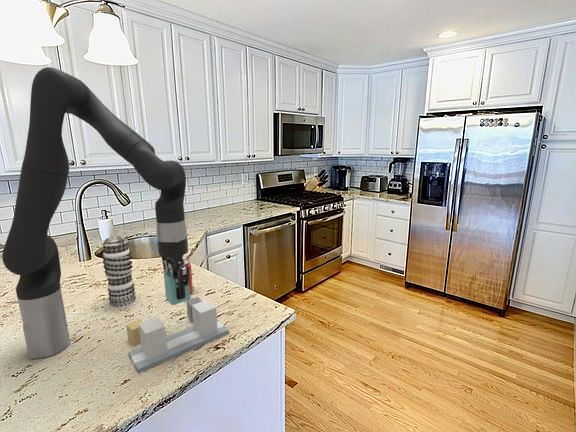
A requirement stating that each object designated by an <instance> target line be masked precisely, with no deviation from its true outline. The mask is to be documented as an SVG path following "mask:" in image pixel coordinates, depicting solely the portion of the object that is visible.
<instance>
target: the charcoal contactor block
mask: <svg viewBox="0 0 576 432" xmlns="http://www.w3.org/2000/svg"><path fill="white" fill-rule="evenodd" d="M200 302H202V300H201V298H200V297H199V296H197V297H196V296H195V297H193V298H190V300H187V301H186V311H187V317H188V319H189V321H190V323H191V324H193V315H192V305H194V304H197V303H200Z"/></svg>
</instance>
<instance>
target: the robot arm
mask: <svg viewBox="0 0 576 432" xmlns="http://www.w3.org/2000/svg"><path fill="white" fill-rule="evenodd" d="M29 105H30V106H29V109H30V110H29V121H28V122H29V124H28V129H27V130H28V131H27V139H26V144H25V145H26V146H25V151H24V157H23V161H22V165H21V169H20V175H19V181H18V183H19V184H18V189H17V193H16V199H15V205H14V212H13V213H14V214H13V219H12V222H11V226H10V229H9V233H8V235H7V239H6V241H5V244H4V247H3V249H2V255H1V257H2V258H1V259H2V260H1V261H2V262H3V265H4V266H5V268H6V269H7V271H9V272H11V273H12V274H14V275H18V276H19V278H18V282H17V284H16V287H15V293H16V298H17V302H18V306H19V312H20V316H21V320H22V331H23V335H24V339H25V340H24V341H25V344H26V349H27V353H28V359H29V360H30V361H31V360H35V359H42V358H49V357H51V356H54V355H57V354H58V353H60V352H62V351H64V350H65V349H66V348H67V347H69V346H70V344H71V338H70V337H71V336H70V333H69V328H68V321H67V317H66V309H65V304H64V300H63V294H62V293H63V292H62V287H61V278H62V268H61V259H60V255H59V254H60V252H59V249H58V245H57V243H56V241H55V240H54V239H53V238H52V237H51V236H50V235H48V232H49V227H50V225H51V221H52V219H53V217H54V214H55V213H56V211H57V210H58V207H59V206H60V203H61V201H62V200H63V196H64V194H65V191H66V188H67V184H68V177H69V173H70V161H69V157H68V152H67V150H66V148H65V144H64V143H65V142H64V139H63V125H64V120H65V115H66V114H69V115H73V116H74V117H77V118H78V119H80V120H81V121H83V122H85V123H87V124H88V125H90V126H91V127H92V128H93V129H94V130H95V131H97V133H99V135H100V137H101V138H102V139H103V140H104V142H105V143H106V144H107V145H108V146H109V147H110V148H111V149H112V150H113V151H114V152H115V153H116V154H117V155H118V156H120V157H121V158H122V159H124V160H125V161H126V162H128V164H130V165H132V167H133V168H134V169H135V171H136V172H137V173H138V174H139V176H140V177H141V178H142V179H143V181H145V182H146V183H147V185H149V186H151V187H152V188H154V189H156V190H159V191H160V196H159V198H158V199H157V200H156V201H155V203H154V205H155V206H154V209H155V210H154V211H155V218H156V219H155V220H156V240H157V242H156V243H157V252H158V255H159V256H160V257H161V261H162V266H163V274H164V273H165V272H167V273H169V272H171V276H172V278H173V279H174V280H175V286H176V296H177V299H178V300H181V299H184V298H185V286H188V282H189V267H188V266H187V267H184V266H185V263H184V260H183V259H184V258H183V257H184V256H185V255H187V254H188V252H189V244H188V243H189V242H188V232H187V231H188V230H187V224H186V219H185V207H184V206H185V205H184V203H185V202H184V201H185V196H186V187H187V184H186V183H187V177H186V176H187V175H186V171H185V169H184V167H183V166H182V165H181V164H180V163H179V162H178V161H175V160H162V159H161V158H160V157H159V156H157V155H156V150H155V148H154V146H153V145H151V143H150V142H148V141H147V140H146V139H145V138H144V137H142V136H141V135H140V134H139V133H137V132H136V131H135V130H134V129H133V128H131V127H130V126H129V125H127V124H126V123H125V122H124V121H122V120H121V119H120V118H118V117H117V116H116V115H115V114H114V113H113V112H112V111H111V110H110V109H109V108H108V107H107V106H106V105H105V104H104V103H103V102H102V101H101V100H100V98H98V96H96V94H95V93H94V92H93V91H92V89H90V88H89V87H88V85H87V84H85V82H83V81H82V80H81V79H79V78H78V77H75V76H74V75H71V74H69V73H67V72H65V71H62V70H60V69H58V68H56V67H52V66H50V67H48V66H47V67H44V68H43V67H42V69H40V70H39V71H38V72H37V73H36V74H35V75H34V77H33V79H32V83H31V89H30V104H29ZM175 274H178V275H177V276H175ZM181 281H182V282H181Z"/></svg>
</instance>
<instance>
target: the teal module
mask: <svg viewBox="0 0 576 432" xmlns="http://www.w3.org/2000/svg"><path fill="white" fill-rule="evenodd" d="M177 275H178V274H175V276H177ZM163 279H164V288H165V289H164V290H165V299H166V301H167V302H168V303H169V304H170V305H171V306H175V305H178V304H180V303H184V302H187V300H190V299H191V296H190V295H191V293H190V291H189V282H188V286H185V298H184V299H181V300H178V299H177V296H176V286H175V280H174V279H173V278H172V276H171V272H169V273H167V272H165V273H164V272H163ZM181 282H182V281H181Z"/></svg>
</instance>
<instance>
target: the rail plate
mask: <svg viewBox="0 0 576 432" xmlns="http://www.w3.org/2000/svg"><path fill="white" fill-rule="evenodd" d="M201 301H202V300H201ZM192 315H193V323H192V326H190V327H187V328H185V329H183V330H180V331H177V332H175V333H172V334H170V335H167V333H166V331H167V330H166V325H165V324H164V323H163V322H162V320H161V319H160V318H159V316H157V317H153V318H150V319H148V320H145V321H143V322H142V323H139V332H140V340H141V343H140V345H141V346H139V347H136V348H134V349H131V350H129V351H128V353H127V354H128V356H129V358H130V360H131V362H132V364H133V366H134V368H135V370H136V372H137V373H138V374H140V373H142V372H145V371H146V370H149V369H152V368H155V367H156V366H158V365H160V364H163V363H165V362H167V361H169V360H172V359H174V358H177V357H179V356H182V355H183V354H185V353H188V352H190V351H192V350H194V349H196V348H199V347H201V346H204V345H206V344H208V343H210V342H213V341H214V340H217V339H220V338H221V337H223V336H227V335H229V334H230V329H229V328H228V327H227V326H225V325H224V324H223V323H222V322H221V321H219V320H218V316H217V315H218V314H217V307H216V306H215V305H214V304H213V303H212V302H210V301H209V300H208V299H205V300H203V301H202V302H200V303H197V304H194V305H192Z"/></svg>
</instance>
